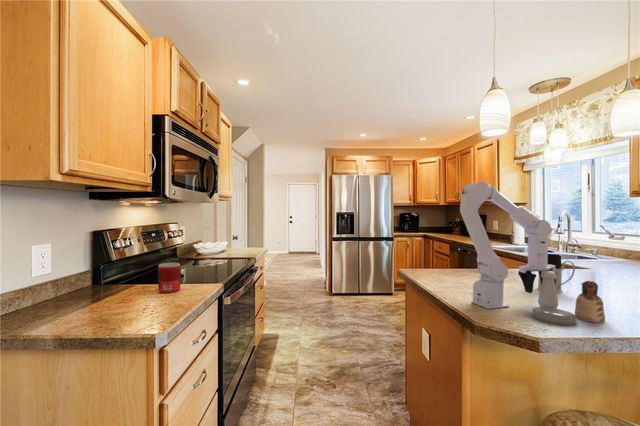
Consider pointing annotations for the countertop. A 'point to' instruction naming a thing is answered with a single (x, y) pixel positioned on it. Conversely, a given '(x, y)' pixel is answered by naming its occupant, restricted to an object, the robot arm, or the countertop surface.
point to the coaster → (554, 316)
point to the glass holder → (556, 261)
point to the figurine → (589, 304)
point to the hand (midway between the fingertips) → (536, 291)
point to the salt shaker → (548, 290)
